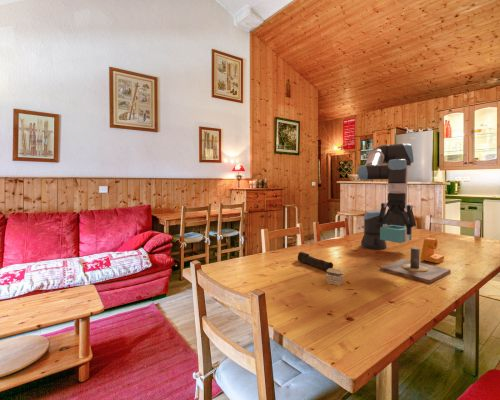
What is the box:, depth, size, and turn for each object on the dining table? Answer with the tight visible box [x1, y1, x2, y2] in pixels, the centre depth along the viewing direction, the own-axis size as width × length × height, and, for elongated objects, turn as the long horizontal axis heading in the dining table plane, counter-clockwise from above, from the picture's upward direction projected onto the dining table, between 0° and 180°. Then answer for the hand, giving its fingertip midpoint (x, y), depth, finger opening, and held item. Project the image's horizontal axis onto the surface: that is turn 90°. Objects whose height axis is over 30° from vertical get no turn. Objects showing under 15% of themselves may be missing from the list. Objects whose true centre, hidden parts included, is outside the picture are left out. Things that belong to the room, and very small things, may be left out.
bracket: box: [420, 237, 445, 264], centre depth 149 cm, size 11×7×12 cm, turn 126°
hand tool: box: [297, 251, 334, 273], centre depth 144 cm, size 23×5×6 cm, turn 31°
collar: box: [380, 225, 413, 244], centre depth 133 cm, size 10×10×6 cm
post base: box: [379, 247, 452, 284], centre depth 133 cm, size 22×22×11 cm
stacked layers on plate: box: [326, 267, 344, 286], centre depth 121 cm, size 10×9×6 cm
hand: (395, 239), depth 133 cm, fingers closed on collar, 10 cm apart
